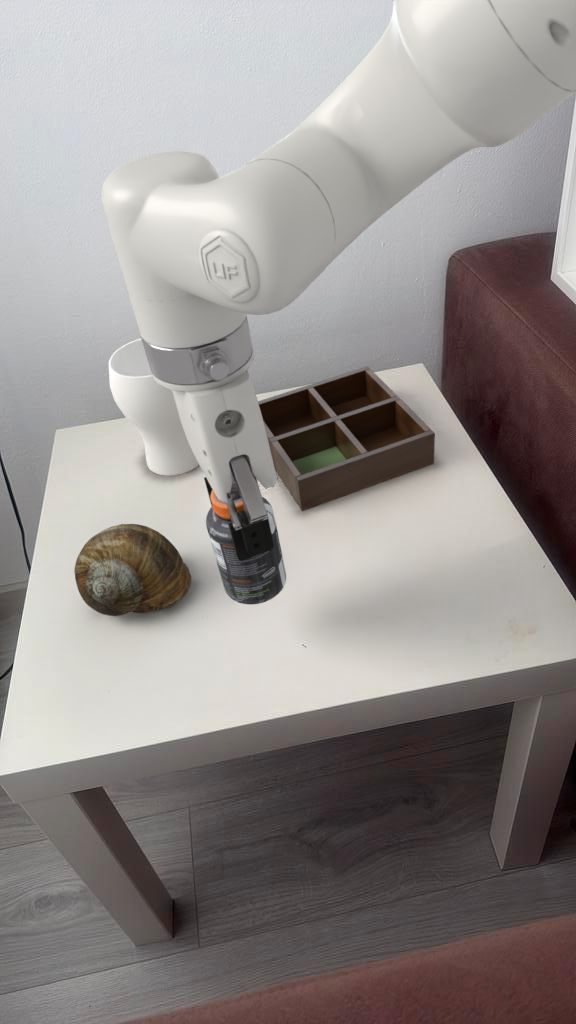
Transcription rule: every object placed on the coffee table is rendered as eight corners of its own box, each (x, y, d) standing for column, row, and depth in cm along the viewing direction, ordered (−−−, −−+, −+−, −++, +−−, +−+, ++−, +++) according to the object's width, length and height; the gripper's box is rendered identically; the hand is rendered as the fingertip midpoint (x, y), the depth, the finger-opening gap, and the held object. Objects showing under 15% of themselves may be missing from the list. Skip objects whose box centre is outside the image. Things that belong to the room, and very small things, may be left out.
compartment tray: (434, 463, 89) (435, 433, 86) (301, 511, 85) (297, 481, 82) (369, 394, 101) (367, 365, 98) (251, 433, 97) (245, 405, 94)
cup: (179, 423, 101) (153, 324, 91) (233, 449, 95) (212, 347, 85) (119, 464, 96) (85, 364, 86) (173, 494, 90) (143, 390, 80)
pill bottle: (297, 567, 69) (280, 474, 62) (270, 613, 66) (249, 520, 58) (241, 554, 72) (219, 463, 64) (212, 598, 68) (185, 507, 60)
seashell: (80, 633, 75) (55, 581, 70) (93, 567, 82) (70, 515, 77) (190, 620, 75) (172, 566, 69) (193, 555, 82) (177, 501, 76)
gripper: (292, 384, 47) (321, 577, 59) (212, 287, 59) (249, 463, 71) (181, 422, 45) (234, 612, 57) (122, 314, 58) (176, 488, 70)
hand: (242, 528), depth 64 cm, fingers closed on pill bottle, 6 cm apart
